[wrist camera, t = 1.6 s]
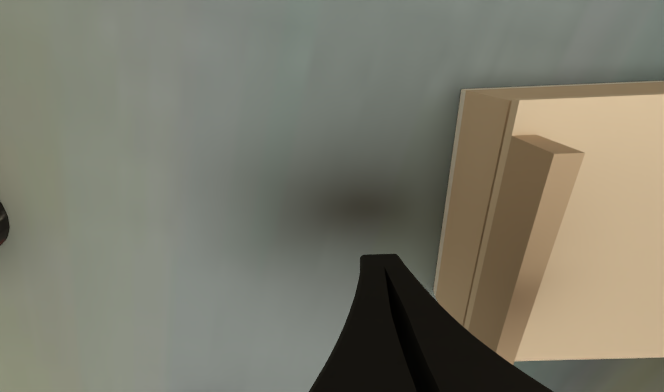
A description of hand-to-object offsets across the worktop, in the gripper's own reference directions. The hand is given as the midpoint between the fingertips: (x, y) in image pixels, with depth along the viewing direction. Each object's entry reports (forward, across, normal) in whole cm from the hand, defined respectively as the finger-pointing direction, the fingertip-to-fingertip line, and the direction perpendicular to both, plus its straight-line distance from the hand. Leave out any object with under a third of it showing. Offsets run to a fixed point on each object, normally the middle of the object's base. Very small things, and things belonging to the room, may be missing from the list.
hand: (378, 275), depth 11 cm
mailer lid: (+1, -9, 0) cm, 9 cm away
